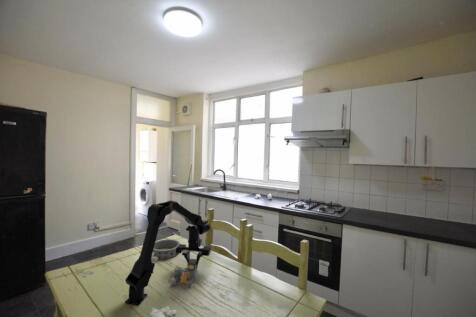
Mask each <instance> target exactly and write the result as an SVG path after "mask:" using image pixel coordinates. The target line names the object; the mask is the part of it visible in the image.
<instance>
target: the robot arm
mask: <svg viewBox="0 0 476 317" xmlns="http://www.w3.org/2000/svg"><path fill="white" fill-rule="evenodd" d="M172 212H175V213H176V214H177V215H179V216H180V217H182V218H183V219H184V220H185V221H186V223H187V224H189V225H188V226H187V227H186V228H185V231H187V232H188V240H187V244H188V245H187V244H181V243H180V245H178V247H177V248H176V252H175V253H179V254H181V255H182V256H183V257H184V258H185V260H186V262H187V264H188V262H189V260H190V259H191V252H195V253H197V254H196V259H197V261H196V265H198V266H199V263H200V260H201V257H203V256H206V257H208V256H210V254H211V252H212V247H211V246H209V245H208V246H205V245H204V246H203V247H201V246H202V245H203V244H202V243H203V242H202V241H203V239H202V238H201V239H200V235H201V236H202V235H203V234H204V235H205V234H206V233H208V232H210V230H211V225H210V224H209V221H208V220H203V219H202V216H201V215H200V214H197V213H195V212H191V211H190V210H188V209H187V208H185V207H184V206H182V205H181V204H180V203H179V202H178V201H176V200H168V201H164V202H158V203H154V204H153V203H152V204H151V205H150V206H149V207H148V208H147V212H146V214H147V215H146V219H147V228H146V232H145V236H144V239H143V242H142V243H143V244H142V248H141V249H140V250H141V251H140V254H139V256H140V257H139V256H138V258H137V259H136V260H135V261H134V264H133V266H132V269H131V271H130V272H129V274H128V275H127V276H126V278H125V279H124V280H125V283H126V285H129V286H128V287H129V288H128V298H127V299H126V300H125V301H124V303H125V304H129V305H135V306H136V305H137V306H139V305H141V303H142V302H143V301H144V300H145V298H147V297H148V293H145V288H146V287H148V286H149V282H150V279H151V277H152V274H154V269H155V265H156V263H155V262H154V261H153V260H151V257H152V254H153V250H154V246H155V242H156V241H157V237H158V233H159V230H160V227H161V225H162V224H163V222H164V221H165V218H166V216H168V215H171V213H172Z"/></svg>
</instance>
